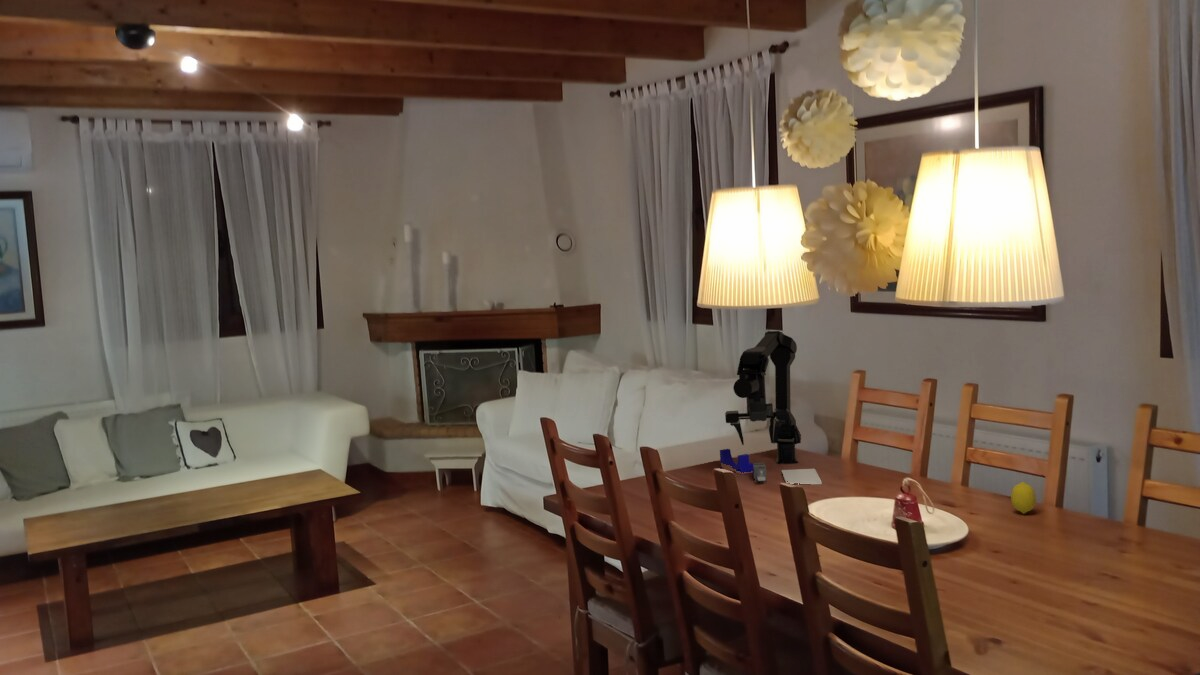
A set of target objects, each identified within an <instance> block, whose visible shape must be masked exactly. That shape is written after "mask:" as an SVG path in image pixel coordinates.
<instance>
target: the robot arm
mask: <svg viewBox="0 0 1200 675" xmlns="http://www.w3.org/2000/svg"><path fill="white" fill-rule="evenodd" d="M797 348H798V346H797V342H796V341H795V340H794V339H793V338H792V337H791V336H789V335H787V334H784V333H783V331H780V330H768V331H765V333H764V336H763V337H762V338H761V339H760V341H759V342H758V343H757V344H756V345H755V346H754V347H751V348H747V349H746V350H744V351H743V352H742V354H741V355H740V357H739V362H738V368H737V371H736V372H737V373H736V375H737V376H738V379H737V380H736V381H735V382H734V383H733V387H732V388H733V392H734V394H735V395H736V396H737V397H739V398H741V399H745V400H746V412H741V413H739V410H727V411H726V412H724V413H725V414H724V415H725V423H726V424H729V425H730V426H732V427H733V426H734V428H735V430H736V431H737V432H736V433H737V434H738V437H739V439H740V442H741V445H742V446H744V444H745V442H744V435H743V432H742V425H741V420H749V421H750V422H752V423H753V422H760V421H761V422H765V421H767V420H768V419H769V427H768V433H769V438H770V439H769V440H770V444H774V445H775V444H776V447H777V450H776V451H777V452H776V453H777V457H776V458H775V460H776V463H777V464H797V463H799V460H798V458H797V454H796V445H797V444H801V443H802V442H801V441H802V434H801V433H800V430H799V428H798V426H797V422H796V421H797V420H796V418H795V416H794V415H793V413H792V411H791V366H792V364H793V363H794V361H795V359H796V353H797V350H798V349H797ZM770 361H771V362H772V364H773V365H774V367H775V368H774V369H775V371H774V372H775V373H774V374H775V375H774V376H775V377H774V378H775V380H774V381H775V386H774V388H775V393H774V394H775V400H774V401H775V408H773V406H774V405H773V403H767V397H766V377H765V376H766V372H767V368H768V365H769V362H770Z"/></svg>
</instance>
